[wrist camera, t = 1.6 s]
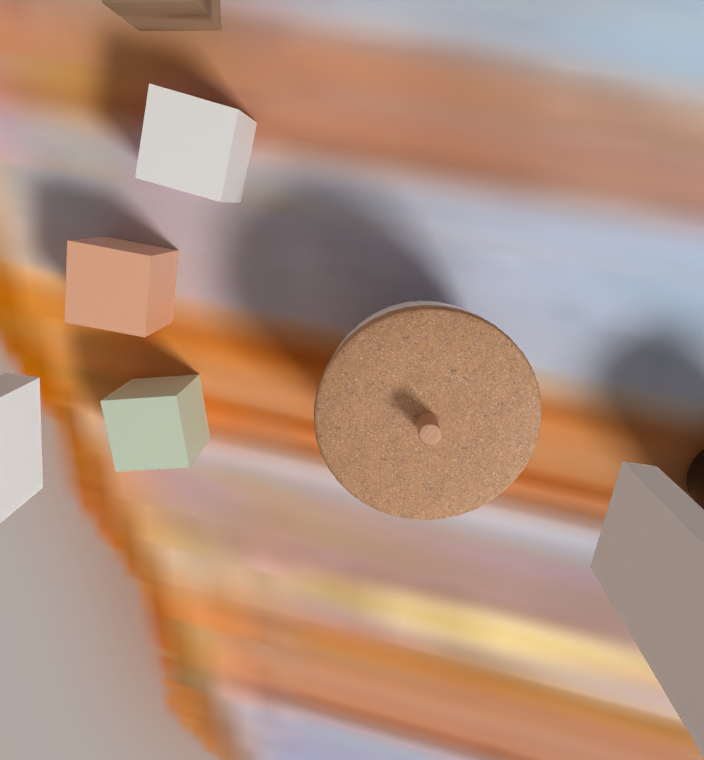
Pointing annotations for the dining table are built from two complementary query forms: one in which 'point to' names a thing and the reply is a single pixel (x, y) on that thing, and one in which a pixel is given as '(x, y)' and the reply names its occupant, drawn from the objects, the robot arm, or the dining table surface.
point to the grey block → (195, 145)
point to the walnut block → (168, 14)
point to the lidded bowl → (427, 411)
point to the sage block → (156, 422)
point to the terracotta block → (120, 285)
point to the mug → (697, 479)
